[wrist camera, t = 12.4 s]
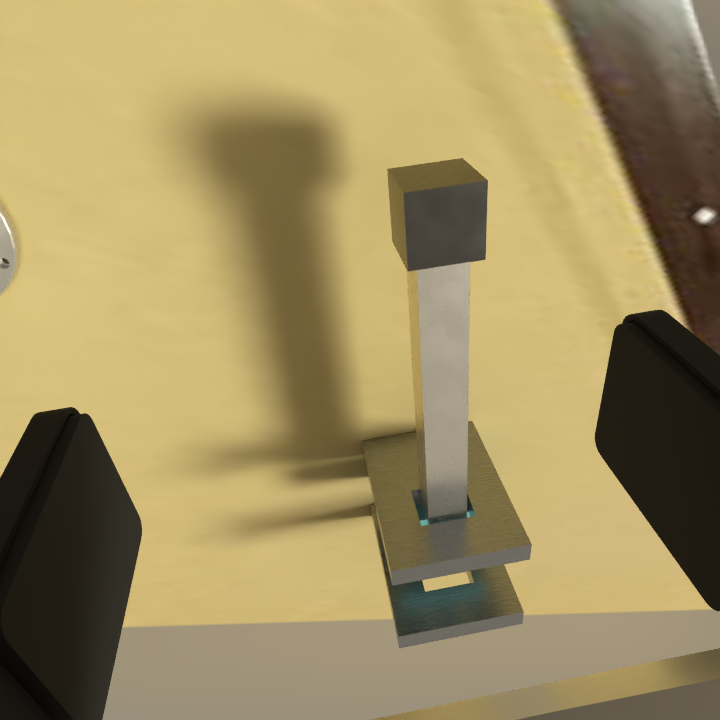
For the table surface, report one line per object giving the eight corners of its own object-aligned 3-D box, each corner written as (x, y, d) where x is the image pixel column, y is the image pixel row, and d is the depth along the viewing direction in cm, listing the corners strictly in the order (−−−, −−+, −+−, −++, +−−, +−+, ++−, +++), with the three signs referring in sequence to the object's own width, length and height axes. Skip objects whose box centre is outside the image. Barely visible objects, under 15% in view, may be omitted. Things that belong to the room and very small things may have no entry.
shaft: (387, 169, 36) (403, 192, 32) (462, 158, 37) (487, 180, 33) (410, 494, 54) (422, 537, 50) (461, 485, 54) (477, 526, 50)
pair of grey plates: (362, 440, 59) (390, 571, 46) (472, 421, 60) (531, 544, 47) (371, 515, 66) (399, 648, 53) (471, 497, 67) (522, 623, 54)
